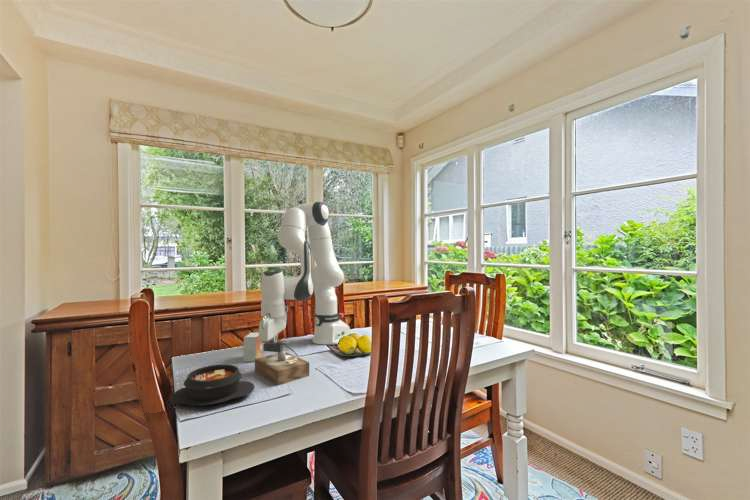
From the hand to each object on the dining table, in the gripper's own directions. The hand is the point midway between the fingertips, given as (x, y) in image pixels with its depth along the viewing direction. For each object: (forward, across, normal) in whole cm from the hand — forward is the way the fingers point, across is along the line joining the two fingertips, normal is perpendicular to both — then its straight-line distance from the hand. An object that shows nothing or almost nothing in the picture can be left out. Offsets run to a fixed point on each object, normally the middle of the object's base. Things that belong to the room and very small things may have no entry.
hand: (273, 346), depth 135 cm
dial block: (+10, -3, -4) cm, 11 cm away
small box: (+10, +12, +14) cm, 21 cm away
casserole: (+10, -25, +10) cm, 29 cm away
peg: (+4, -3, -4) cm, 7 cm away
